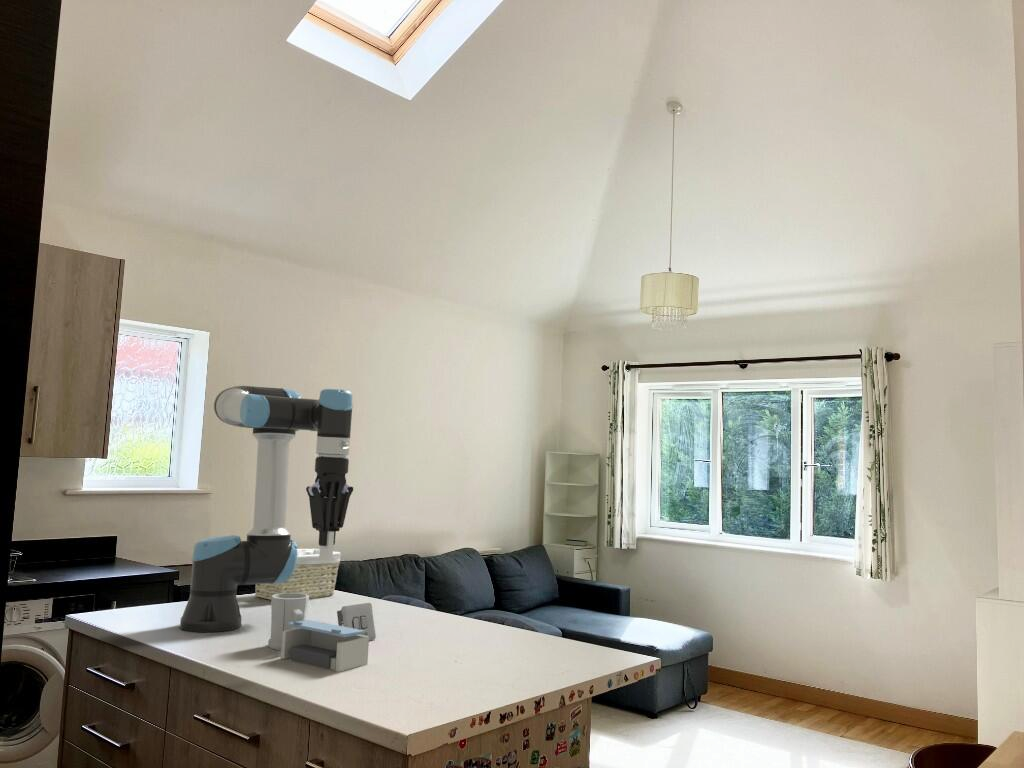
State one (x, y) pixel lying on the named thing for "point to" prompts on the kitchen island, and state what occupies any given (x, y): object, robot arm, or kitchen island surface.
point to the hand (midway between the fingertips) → (325, 560)
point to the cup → (286, 615)
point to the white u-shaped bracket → (329, 646)
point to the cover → (327, 628)
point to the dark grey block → (314, 656)
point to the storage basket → (306, 577)
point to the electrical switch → (358, 618)
